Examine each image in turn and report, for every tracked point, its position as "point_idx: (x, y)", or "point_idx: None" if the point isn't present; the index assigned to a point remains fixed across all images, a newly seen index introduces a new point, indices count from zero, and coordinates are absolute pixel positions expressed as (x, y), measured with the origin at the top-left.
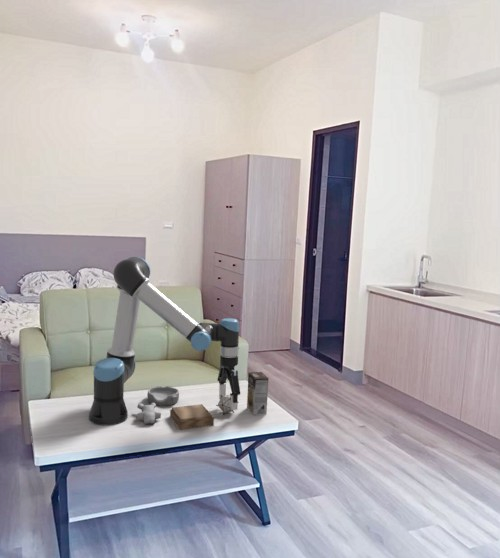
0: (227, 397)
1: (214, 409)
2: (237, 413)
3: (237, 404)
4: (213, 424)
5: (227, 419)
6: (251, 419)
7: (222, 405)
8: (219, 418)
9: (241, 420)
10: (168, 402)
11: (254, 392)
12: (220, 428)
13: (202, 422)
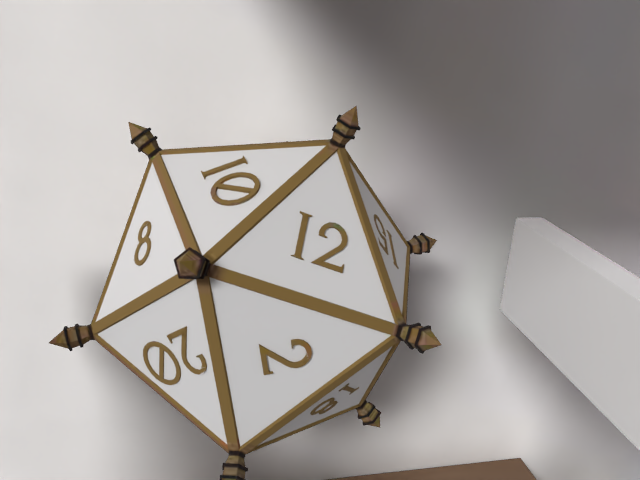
0: (347, 376)
1: (83, 347)
2: (321, 100)
3: (592, 249)
4: (524, 466)
5: (448, 293)
6: (580, 3)
7: (370, 403)
8: (386, 366)
9: (546, 147)
10: None
11: None
12: (606, 417)
13: None
